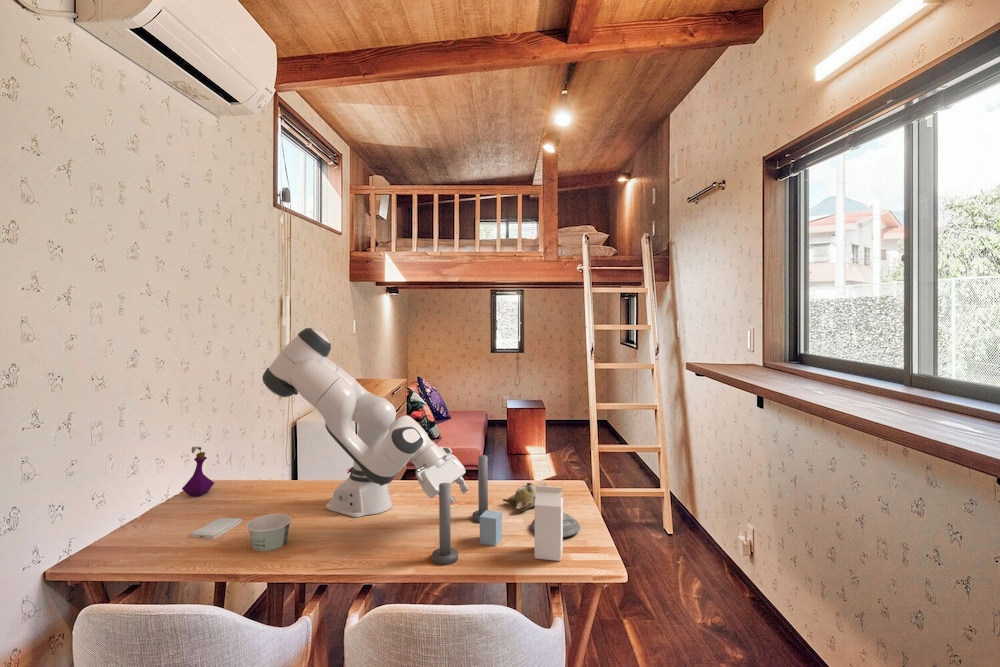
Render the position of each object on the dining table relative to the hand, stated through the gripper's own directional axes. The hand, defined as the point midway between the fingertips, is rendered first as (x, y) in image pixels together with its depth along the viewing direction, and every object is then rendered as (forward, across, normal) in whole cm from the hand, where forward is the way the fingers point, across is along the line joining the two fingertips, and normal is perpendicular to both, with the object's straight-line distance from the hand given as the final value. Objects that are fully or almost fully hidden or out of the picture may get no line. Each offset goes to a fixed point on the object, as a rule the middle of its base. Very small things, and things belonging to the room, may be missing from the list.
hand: (459, 497), depth 150 cm
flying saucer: (+27, +15, -9) cm, 32 cm away
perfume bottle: (-66, -2, +83) cm, 106 cm away
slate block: (+15, +1, +2) cm, 16 cm away
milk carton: (+28, -1, -11) cm, 30 cm away
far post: (+10, +15, +8) cm, 19 cm away
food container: (-26, -23, +44) cm, 57 cm away
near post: (+10, -13, +7) cm, 18 cm away
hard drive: (-42, -21, +61) cm, 77 cm away
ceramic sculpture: (+17, +29, 0) cm, 34 cm away
